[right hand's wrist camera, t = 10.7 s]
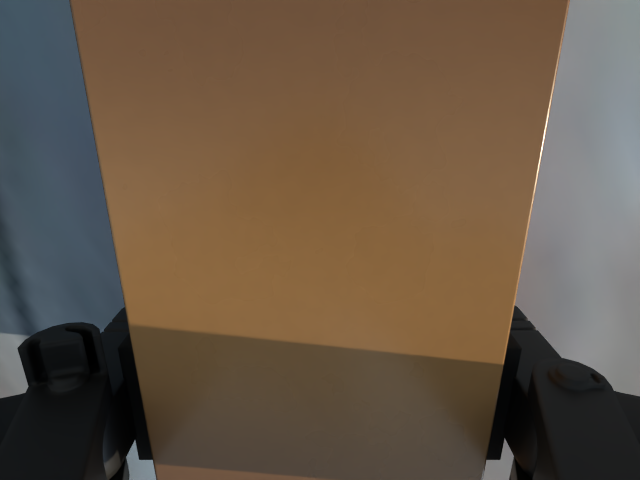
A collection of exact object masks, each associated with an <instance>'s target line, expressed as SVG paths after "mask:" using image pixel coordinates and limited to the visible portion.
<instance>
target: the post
mask: <svg viewBox="0 0 640 480" xmlns="http://www.w3.org/2000/svg"><path fill="white" fill-rule="evenodd" d="M69 1H70V7H71V12H72V18H73V23H74V29H75V34H76V40H77V45H78V51H79V56H80V62H81V67H82V73H83V78H84V84H85V89H86V95H87V100H88V106H89V111H90V117H91V122H92V128H93V133H94V139H95V144H96V150H97V155H98V161H99V166H100V172H101V177H102V183H103V188H104V194H105V199H106V205H107V210H108V216H109V221H110V227H111V232H112V238H113V243H114V249H115V254H116V260H117V265H118V271H119V276H120V282H121V287H122V293H123V298H124V304H125V309H126V315H127V320H128V326H129V331H130V337H131V342H132V348H133V353H134V359H135V364H136V370H137V375H138V381H139V386H140V392H141V397H142V403H143V408H144V414H145V419H146V425H147V430H148V436H149V441H150V447H151V452H152V458H153V463H154V469H155V474H156V480H483V475H484V470H485V464H486V459H487V453H488V448H489V442H490V437H491V431H492V426H493V420H494V415H495V409H496V404H497V398H498V393H499V387H500V382H501V376H502V371H503V365H504V360H505V354H506V349H507V343H508V338H509V332H510V327H511V321H512V316H513V310H514V305H515V299H516V294H517V288H518V283H519V277H520V272H521V266H522V261H523V255H524V250H525V244H526V239H527V233H528V228H529V222H530V217H531V211H532V206H533V200H534V195H535V189H536V184H537V178H538V173H539V167H540V162H541V156H542V151H543V145H544V140H545V134H546V129H547V123H548V118H549V112H550V107H551V101H552V96H553V90H554V85H555V79H556V74H557V68H558V63H559V57H560V52H561V46H562V41H563V35H564V30H565V24H566V19H567V13H568V8H569V2H570V0H69Z"/></svg>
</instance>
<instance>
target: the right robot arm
mask: <svg viewBox="0 0 640 480" xmlns="http://www.w3.org/2000/svg"><path fill="white" fill-rule="evenodd" d="M18 352H19V355H20V358H21V362H22V365H23V369H24V372H25V375H26V379H27V382H28V386H29V387H28V389H27V391H26V393H23V394H20V395H15V396H10V397H5V398H0V480H129V469H128V464H127V459H126V456H127V454H128V452H129V450H130V448H131V446H132V444H133V442H134V440H136V445H137V450H138V456H139V460H153V458H152V452H151V447H150V441H149V436H148V430H147V425H146V419H145V414H144V408H143V403H142V397H141V392H140V386H139V381H138V375H137V370H136V364H135V359H134V353H133V348H132V342H131V337H130V331H129V326H128V320H127V315H126V309H125V307H124V308H122V309H121V311H120V312H119V313H118V314H117V315H116V316H115V318H114V319H113V320H112V322H110V323H109V324H108V326H107V327H106V328H105V329H104V332H102V333H101V334H100V330H99V328H97V327H96V326H95V325H93V324H89V323H83V322H78V323H66V324H62V325H57V326H53V327H50V328H48V329H45V330H42V331H40V332H37V333H36V334H34V335H32V336H31V337H29V338H28V339H26V340H25V341H24V342H23V343H22V344H21V345H20V346H19V347H18ZM504 438H505V439H506V441H507V443H508V445H509V447H510V449H511V451H512V453H513V455H514V459H513V464H512V469H511V473H510V478H509V480H640V397H639V396H635V395H630V394H625V393H620V392H616V391H614V390H613V388H612V386H611V385H610V384H609V382H608V381H607V380H606V378H605V377H604V376H602V375H601V374H599V373H598V372H597V371H595V370H594V369H592V368H590V367H588V366H586V365H584V364H581V363H579V362H576V361H572V360H568V359H564V358H561V357H560V355H559V354H558V353H557V352H556V351H555V350H554V349H553V347H552V346H551V345H550V344H549V343H548V342H547V341H546V339H545V338H544V337H543V336H542V335H541V334H540V332H539V331H538V330H536V328H535V327H534V326H533V324H532V323H531V322H530V321H528V320H527V317H526V316H525V315H524V314H523V313H522V312H521V311H520V309H519V308H518V307H516V306H515V305H514V310H513V316H512V321H511V327H510V332H509V338H508V343H507V349H506V354H505V360H504V365H503V371H502V376H501V382H500V387H499V393H498V398H497V404H496V409H495V415H494V420H493V426H492V431H491V437H490V442H489V448H488V453H487V459H486V460H500V458H501V453H502V448H503V443H504Z"/></svg>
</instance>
